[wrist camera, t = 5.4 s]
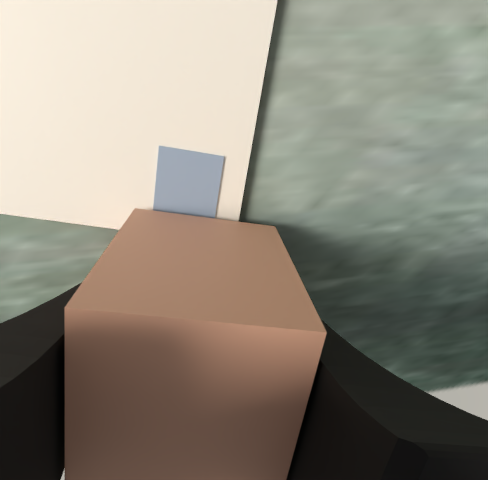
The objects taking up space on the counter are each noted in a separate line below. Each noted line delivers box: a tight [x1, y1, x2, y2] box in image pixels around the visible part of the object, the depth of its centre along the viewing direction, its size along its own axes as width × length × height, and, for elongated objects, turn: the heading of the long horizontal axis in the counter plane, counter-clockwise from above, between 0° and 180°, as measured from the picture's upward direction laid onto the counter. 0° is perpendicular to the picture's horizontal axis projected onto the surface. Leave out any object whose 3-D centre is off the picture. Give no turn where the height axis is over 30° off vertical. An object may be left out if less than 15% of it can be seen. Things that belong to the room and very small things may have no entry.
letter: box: [0, 0, 278, 230], centre depth 11 cm, size 12×9×1 cm
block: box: [65, 208, 327, 480], centre depth 10 cm, size 4×4×6 cm
